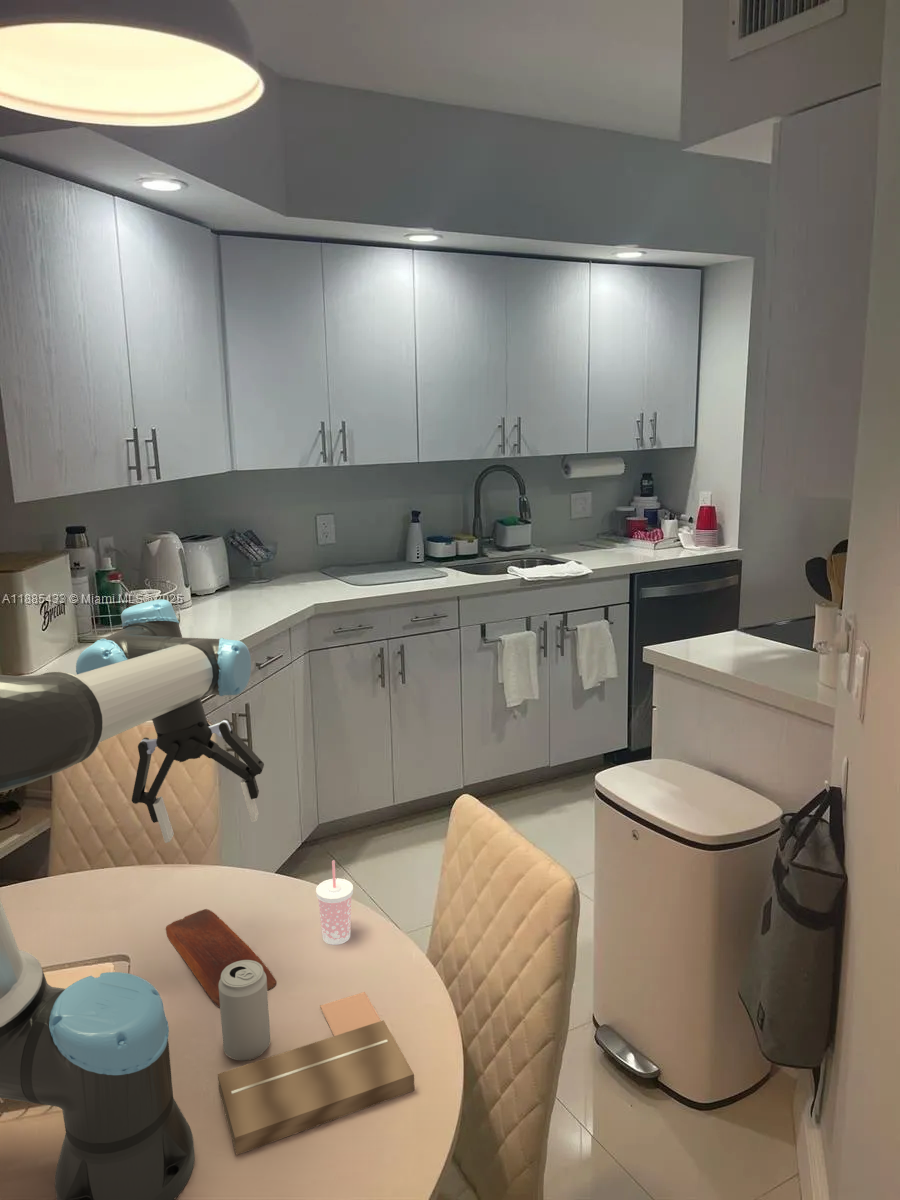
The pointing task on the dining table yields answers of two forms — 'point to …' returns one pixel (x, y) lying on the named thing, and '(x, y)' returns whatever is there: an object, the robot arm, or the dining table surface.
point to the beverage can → (244, 1010)
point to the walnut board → (312, 1085)
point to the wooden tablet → (210, 949)
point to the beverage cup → (335, 908)
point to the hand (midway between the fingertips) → (212, 828)
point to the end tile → (349, 1013)
